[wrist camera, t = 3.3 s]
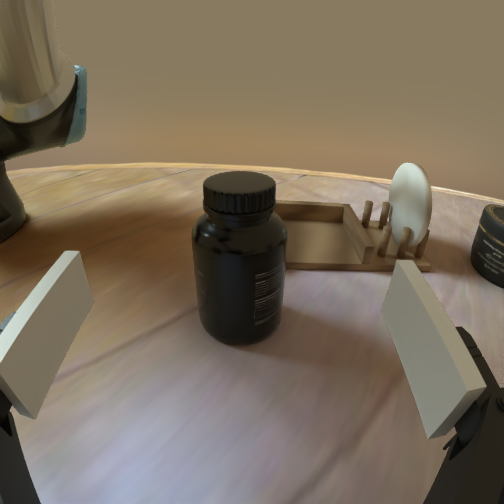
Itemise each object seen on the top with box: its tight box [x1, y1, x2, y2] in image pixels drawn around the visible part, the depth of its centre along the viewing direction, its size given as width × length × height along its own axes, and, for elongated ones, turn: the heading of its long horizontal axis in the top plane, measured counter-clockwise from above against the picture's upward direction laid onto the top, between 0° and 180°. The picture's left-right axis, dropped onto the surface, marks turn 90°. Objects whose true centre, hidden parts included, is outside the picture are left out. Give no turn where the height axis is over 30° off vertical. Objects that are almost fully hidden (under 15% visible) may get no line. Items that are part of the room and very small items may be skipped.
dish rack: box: [274, 163, 432, 271], centre depth 36 cm, size 20×11×11 cm, turn 89°
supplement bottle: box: [192, 171, 288, 344], centre depth 24 cm, size 7×7×12 cm
